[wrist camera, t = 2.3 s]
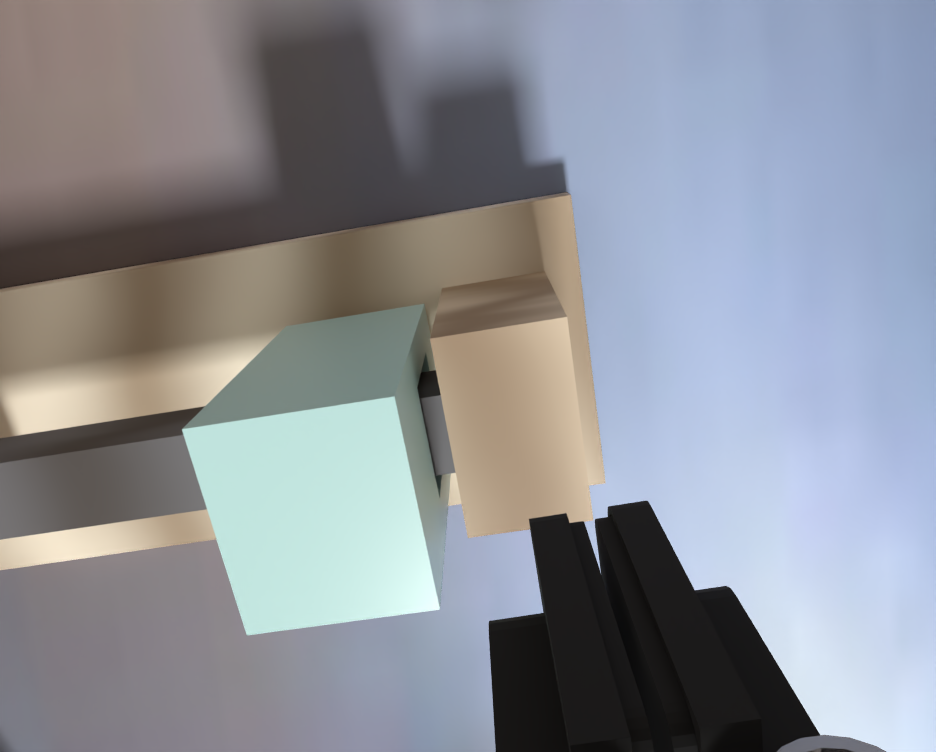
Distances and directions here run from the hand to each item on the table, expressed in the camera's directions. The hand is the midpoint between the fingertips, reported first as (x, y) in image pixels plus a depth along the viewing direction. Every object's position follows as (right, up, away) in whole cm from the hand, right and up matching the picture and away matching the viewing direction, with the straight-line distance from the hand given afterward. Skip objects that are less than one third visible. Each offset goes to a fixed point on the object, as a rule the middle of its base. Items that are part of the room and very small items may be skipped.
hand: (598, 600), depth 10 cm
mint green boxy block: (-5, +3, +11) cm, 12 cm away
